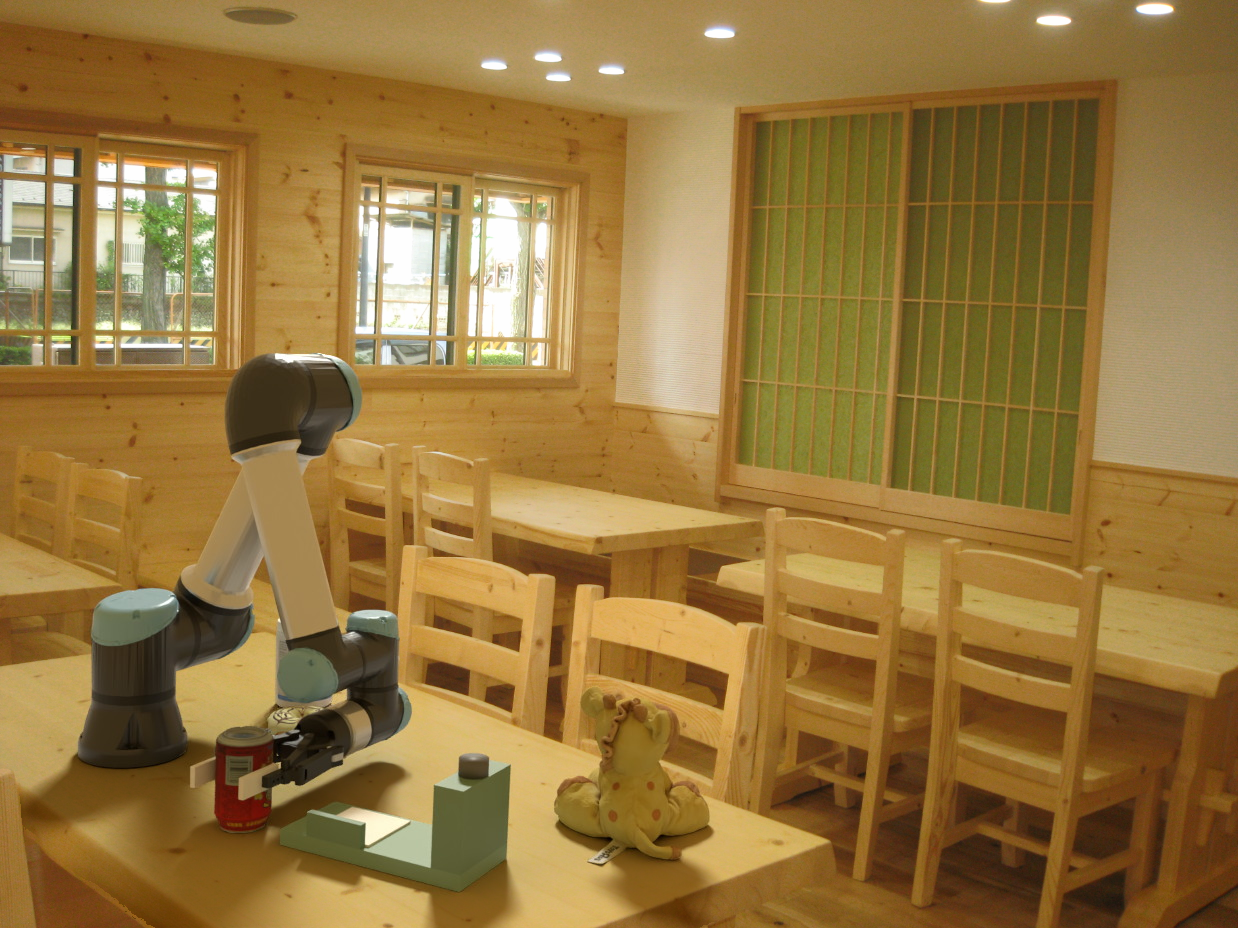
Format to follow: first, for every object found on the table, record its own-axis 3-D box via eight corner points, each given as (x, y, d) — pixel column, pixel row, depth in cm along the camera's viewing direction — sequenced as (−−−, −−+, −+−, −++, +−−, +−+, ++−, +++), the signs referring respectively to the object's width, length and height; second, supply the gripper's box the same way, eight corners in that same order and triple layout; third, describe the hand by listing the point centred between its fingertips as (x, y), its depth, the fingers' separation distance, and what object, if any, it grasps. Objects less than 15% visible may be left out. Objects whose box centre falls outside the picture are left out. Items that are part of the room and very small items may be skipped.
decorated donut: (260, 745, 192) (261, 721, 192) (274, 724, 203) (275, 701, 203) (329, 747, 193) (330, 723, 193) (340, 725, 204) (340, 702, 203)
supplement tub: (340, 708, 213) (343, 622, 211) (285, 714, 207) (288, 627, 206) (320, 693, 221) (322, 611, 219) (266, 699, 215) (269, 615, 214)
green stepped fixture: (279, 844, 156) (282, 734, 154) (334, 815, 166) (337, 712, 164) (459, 891, 145) (464, 774, 144) (506, 858, 155) (511, 748, 154)
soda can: (272, 832, 159) (274, 738, 158) (213, 837, 157) (215, 741, 156) (270, 812, 166) (272, 721, 164) (214, 816, 163) (215, 724, 162)
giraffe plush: (715, 809, 175) (723, 675, 173) (689, 878, 152) (698, 724, 150) (573, 791, 179) (580, 660, 178) (527, 856, 156) (534, 705, 154)
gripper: (389, 773, 173) (279, 828, 152) (274, 747, 181) (155, 796, 160) (391, 720, 172) (281, 768, 151) (275, 696, 180) (156, 739, 160)
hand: (216, 782), depth 156 cm, fingers closed on soda can, 7 cm apart
